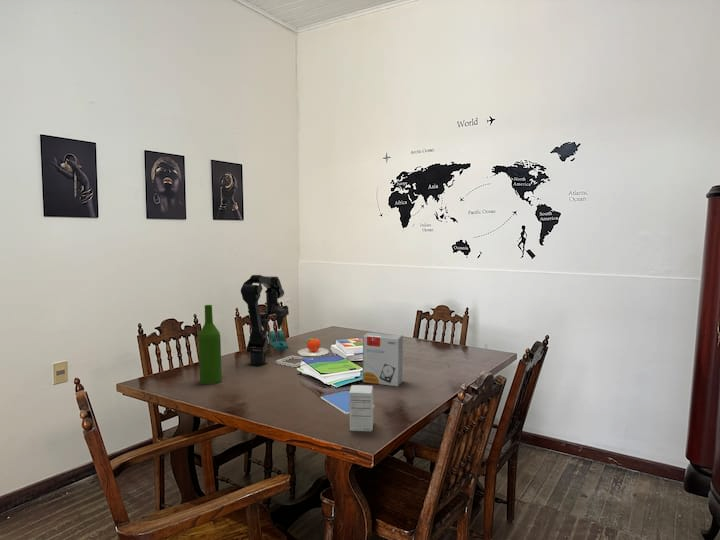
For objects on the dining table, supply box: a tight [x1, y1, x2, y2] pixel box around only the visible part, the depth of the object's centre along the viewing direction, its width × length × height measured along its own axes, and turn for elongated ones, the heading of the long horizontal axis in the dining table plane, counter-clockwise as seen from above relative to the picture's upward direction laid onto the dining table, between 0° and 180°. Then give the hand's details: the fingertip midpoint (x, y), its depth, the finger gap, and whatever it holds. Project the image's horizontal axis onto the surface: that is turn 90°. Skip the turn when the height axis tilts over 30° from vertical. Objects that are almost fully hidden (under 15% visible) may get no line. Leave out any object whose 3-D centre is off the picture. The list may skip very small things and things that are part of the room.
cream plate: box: [297, 347, 330, 357], centre depth 247 cm, size 16×16×1 cm
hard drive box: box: [362, 332, 404, 387], centre depth 199 cm, size 16×8×20 cm, turn 70°
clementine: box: [305, 337, 321, 352], centre depth 246 cm, size 8×7×7 cm
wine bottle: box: [197, 304, 223, 385], centre depth 201 cm, size 9×9×32 cm
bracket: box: [268, 329, 289, 351], centre depth 262 cm, size 18×7×8 cm, turn 24°
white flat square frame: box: [275, 355, 303, 368], centre depth 229 cm, size 11×12×2 cm
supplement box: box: [349, 384, 374, 432], centre depth 154 cm, size 7×7×13 cm
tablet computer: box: [320, 390, 375, 415], centre depth 176 cm, size 19×13×1 cm, turn 33°
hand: (272, 330), depth 246 cm, fingers open, 9 cm apart
